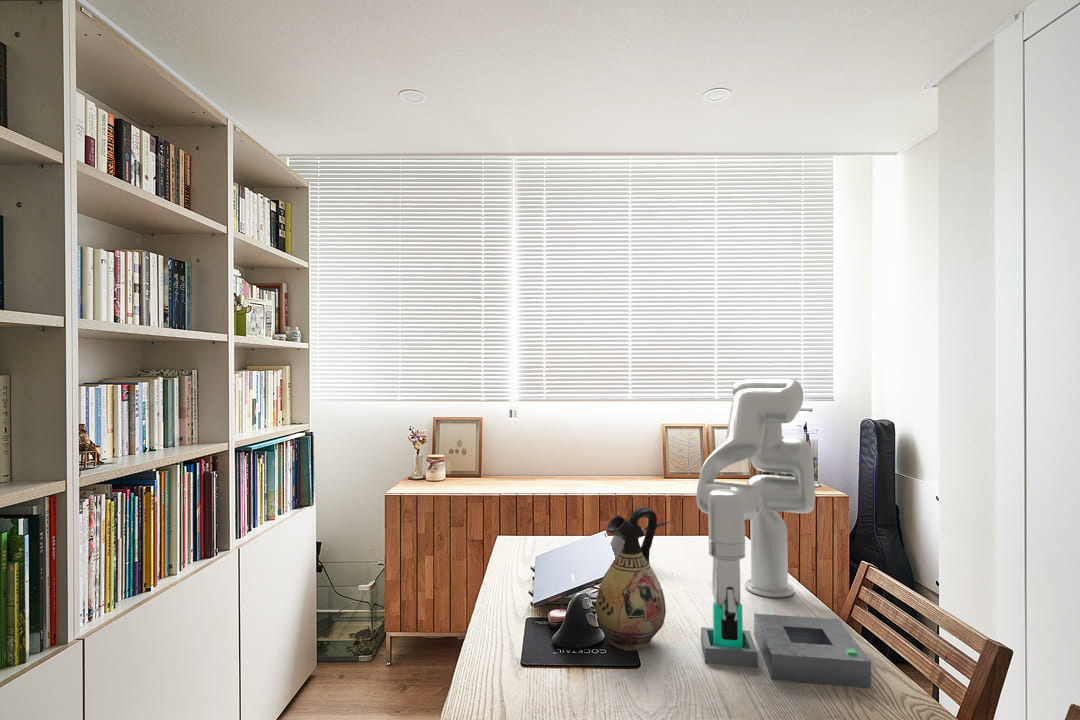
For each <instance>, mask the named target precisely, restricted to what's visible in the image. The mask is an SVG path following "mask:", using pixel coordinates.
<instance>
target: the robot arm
mask: <svg viewBox="0 0 1080 720" xmlns="http://www.w3.org/2000/svg"><path fill="white" fill-rule="evenodd" d="M732 395H733V398H732V401H731V407H730V413H729V420H728V425H727V430H726V438H725V441H724V442H723V443H722V444H720V445H719V446H718V447H717V448H715V449H714V450H713V451H712V452H711V453H710V454H709V456H708V457H707V458H706V459H705V460H704V462H703V463H702V466H701V469H700V472H699V478H698V484H697V488H696V497H695V499H696V504H697V505H696V506H697V507H698V509H699V510H700V511H701V512H702V513H705V514H707V517H708V520H707V521H708V524H707V525H708V554H709V556H711V557H712V579H711V580H712V585H711V586H712V587H711V589H712V590H711V591H712V596H713V599H714V602H715V603H716V605H717V606H719V605H722V613H723V619H721V636H722V639H726V640H737V639H738V624H737V612H736V607H739V606H740V603H741V560H742V559H745V558H746V525H745V523H746V522H745V521H748V520H750V521H749V523H750V524H749V525H750V528H749V529H750V578H749V579H748V580H746V581H745V589H746V590H747V591H749V592H750V593H752V594H755V595H757V596H762V597H767V598H787V597H790V596H792V595H794V593H795V588H794V586H793V585H792V584H790V583H789V579H788V578H789V577H788V576H789V575H788V574H789V571H788V570H789V569H788V567H789V566H788V527H787V524H786V522H785V520H784V519H783V517H782V516H781V514H780V513H779V512H783V513H792V514H793V513H794V514H809V513H811V512H812V511H813V510H814V508H815V503H816V488H815V487H816V485H815V467H814V466H815V465H814V452H813V449H812V446H811V444H810V443H809V442H808V441H807V440H805V439H802V438H801V439H800V438H796V437H795V438H792V437H791V438H790V437H784V436H783V431H782V430H783V428H782V424H789V423H792V422H793V421H794V419H795V417H796V416H797V414H798V413H799V412H800V410H801V408H802V405H803V401H804V389H803V387H802V385H801V384H800V382H798V381H797V380H795V379H768V378H767V379H764V378H763V379H761V378H760V379H759V378H758V379H755V378H754V379H753V378H751V379H743V380H739V381H736V382H735V383H734V384H733V386H732ZM747 459H750V462H751V465H752V467H753V468H754V469H755V470H757V471H759V472H760V471H761V472H768V473H779V474H791V475H793V476H784V475H776V474H773V475H772V474H755V475H754V476H751V477H750V478H749V479H748V480H747V483H746V484H743V483H732V482H723V481H715V479H716V478H717V476H718V474H719V473H720V472H721V471H722V470H724V468H727V467H728V466H729V467H730V465H733V464H736V463H739V462H742V461H744V460H747ZM724 602H727V603H728V605H724ZM725 608H728V611H725Z"/></svg>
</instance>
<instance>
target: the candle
mask: <svg viewBox="0 0 1080 720" xmlns="http://www.w3.org/2000/svg"><path fill="white" fill-rule="evenodd" d="M724 605H728V603H727V602H724ZM725 611H728V608H725ZM736 612H737V624H738V639H737V640H726V639H722V636H721V619H723V613H722V605H719V606H717V605H716V603H715V601H713V603H712V617H713V618H712V619H713V621H712V623H713V626H712V628H713V644H712V645H713V646H717V647H730V648H743V649H744V646H743V630H744V629H743V627H744V626H743V623H744V621H743V604H742V603H741V602H740V606H739V607H736Z"/></svg>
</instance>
